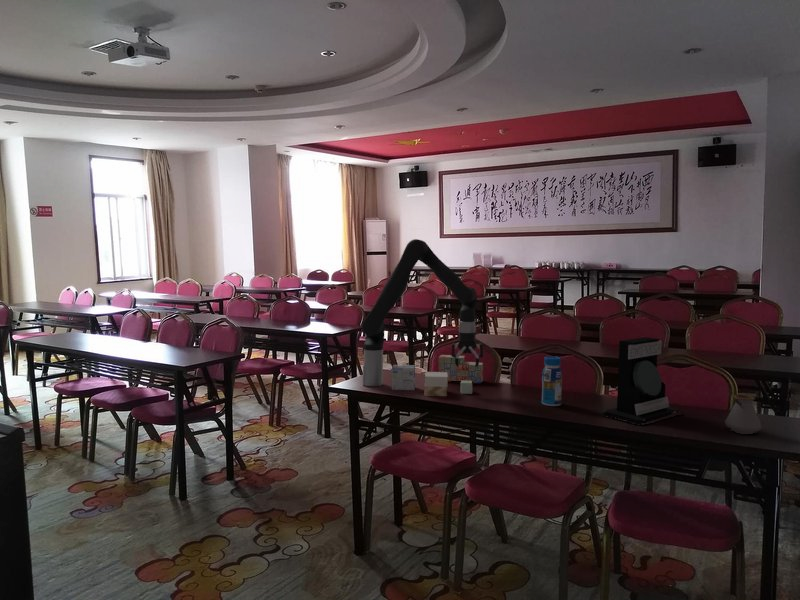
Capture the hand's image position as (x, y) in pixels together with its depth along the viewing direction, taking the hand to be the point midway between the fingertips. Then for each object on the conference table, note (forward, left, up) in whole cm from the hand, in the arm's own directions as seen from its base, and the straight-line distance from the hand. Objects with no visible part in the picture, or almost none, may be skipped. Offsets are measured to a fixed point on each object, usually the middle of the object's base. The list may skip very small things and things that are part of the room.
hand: (467, 366), depth 274 cm
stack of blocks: (-2, +24, -12) cm, 27 cm away
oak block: (-14, -3, -12) cm, 19 cm away
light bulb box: (-29, +5, -12) cm, 32 cm away
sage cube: (0, 0, -12) cm, 12 cm away
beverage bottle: (+35, -18, -12) cm, 41 cm away
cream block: (-14, -3, -8) cm, 16 cm away
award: (+68, -32, -12) cm, 76 cm away
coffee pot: (+94, -56, -12) cm, 110 cm away
